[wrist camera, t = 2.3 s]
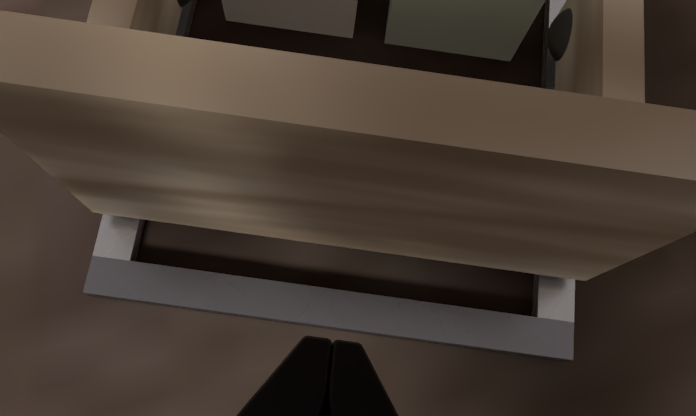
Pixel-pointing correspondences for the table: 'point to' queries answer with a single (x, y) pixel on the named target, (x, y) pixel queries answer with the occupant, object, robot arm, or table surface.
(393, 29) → the sage block
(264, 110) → the toy sofa
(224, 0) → the cream block
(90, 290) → the steel handle
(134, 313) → the table surface
